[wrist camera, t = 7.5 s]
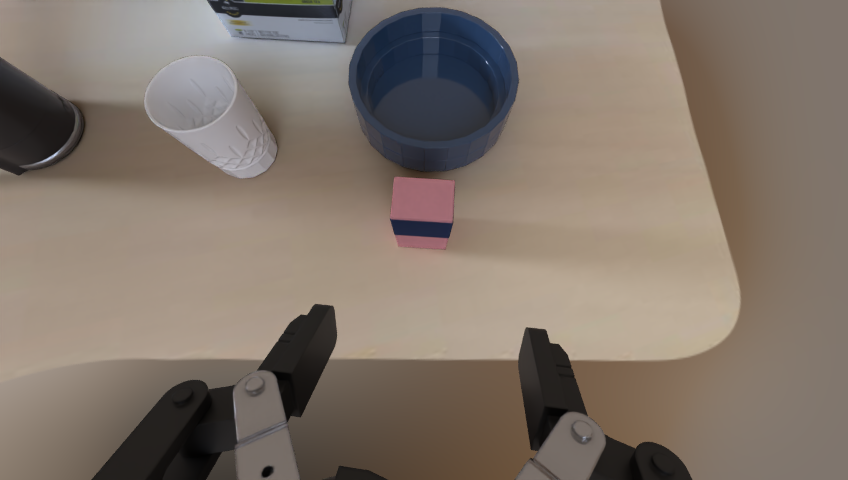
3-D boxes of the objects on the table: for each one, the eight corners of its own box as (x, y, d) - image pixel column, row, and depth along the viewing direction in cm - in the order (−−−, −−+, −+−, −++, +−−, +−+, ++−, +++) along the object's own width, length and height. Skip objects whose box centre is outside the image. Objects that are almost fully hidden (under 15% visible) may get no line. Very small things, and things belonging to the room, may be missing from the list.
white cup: (224, 119, 40) (160, 50, 30) (289, 125, 40) (246, 59, 30) (205, 180, 38) (130, 127, 28) (274, 187, 37) (223, 136, 28)
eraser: (445, 250, 36) (453, 222, 27) (397, 246, 36) (389, 218, 27) (447, 217, 37) (455, 179, 28) (400, 214, 37) (393, 175, 28)
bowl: (435, 204, 37) (437, 182, 32) (327, 108, 40) (313, 74, 35) (535, 105, 40) (552, 71, 35) (429, 25, 44) (430, -18, 38)
